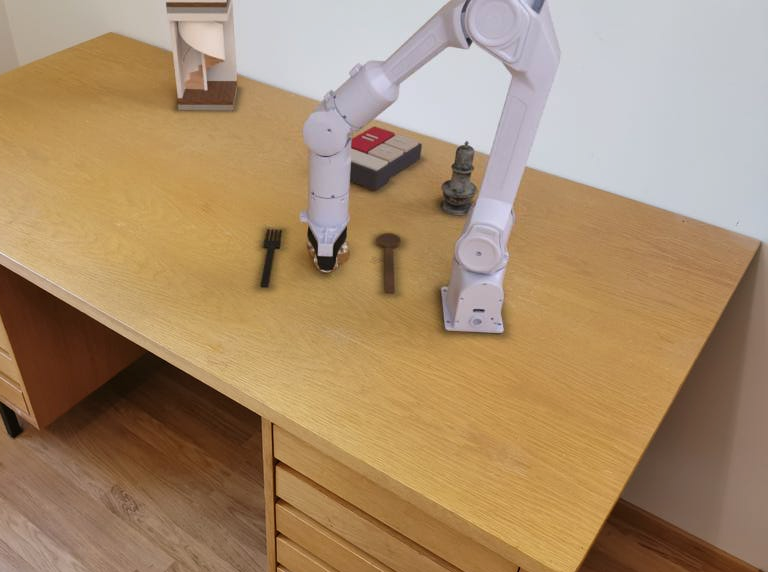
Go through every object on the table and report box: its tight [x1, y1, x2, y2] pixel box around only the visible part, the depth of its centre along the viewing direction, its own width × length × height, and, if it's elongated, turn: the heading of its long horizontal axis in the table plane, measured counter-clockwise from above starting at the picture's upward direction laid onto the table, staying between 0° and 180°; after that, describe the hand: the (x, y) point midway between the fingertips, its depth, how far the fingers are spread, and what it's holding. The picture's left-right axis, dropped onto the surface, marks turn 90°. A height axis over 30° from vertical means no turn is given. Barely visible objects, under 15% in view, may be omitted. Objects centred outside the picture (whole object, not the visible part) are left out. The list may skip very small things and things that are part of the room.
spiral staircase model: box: [165, 0, 239, 111], centre depth 146 cm, size 11×11×35 cm
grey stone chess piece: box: [440, 140, 478, 216], centre depth 122 cm, size 6×6×12 cm
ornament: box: [306, 240, 350, 274], centre depth 115 cm, size 8×7×4 cm
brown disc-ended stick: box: [377, 232, 401, 294], centre depth 115 cm, size 15×4×1 cm, turn 175°
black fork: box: [260, 228, 283, 289], centre depth 116 cm, size 15×3×1 cm, turn 175°
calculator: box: [350, 125, 423, 191], centre depth 135 cm, size 11×4×15 cm
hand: (326, 268), depth 112 cm, fingers closed
